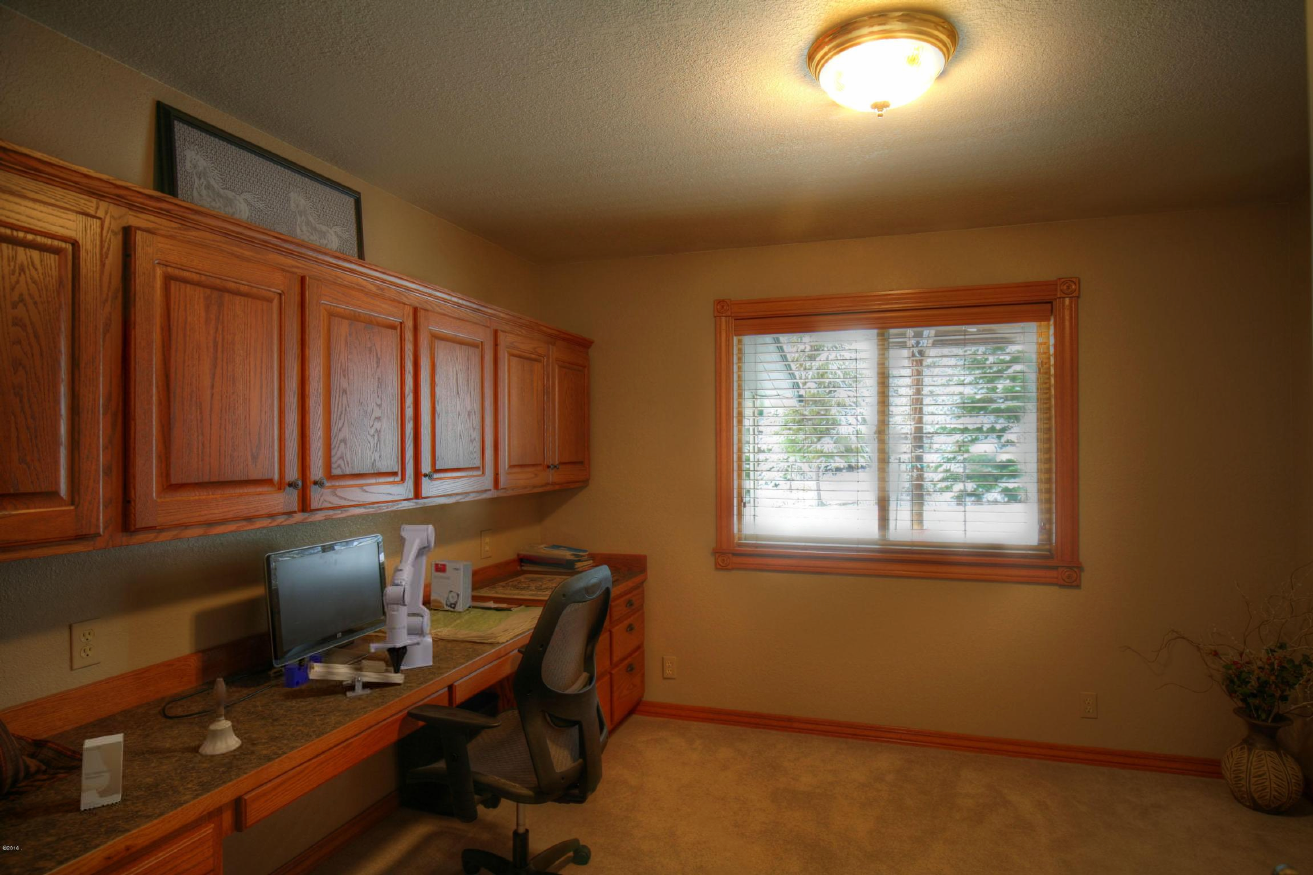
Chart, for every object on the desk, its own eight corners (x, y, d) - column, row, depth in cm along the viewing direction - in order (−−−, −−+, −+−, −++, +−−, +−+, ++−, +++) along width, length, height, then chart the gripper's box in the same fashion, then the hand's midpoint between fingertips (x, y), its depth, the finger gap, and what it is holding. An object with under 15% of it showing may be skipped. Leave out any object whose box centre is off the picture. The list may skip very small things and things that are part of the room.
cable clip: (308, 673, 211) (308, 653, 211) (321, 674, 210) (321, 654, 210) (280, 687, 199) (280, 666, 199) (294, 688, 198) (294, 667, 198)
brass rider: (380, 671, 203) (383, 661, 204) (383, 676, 199) (385, 665, 200) (359, 670, 200) (361, 660, 201) (361, 675, 196) (363, 664, 197)
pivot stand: (365, 681, 204) (365, 664, 204) (370, 692, 195) (370, 675, 195) (342, 684, 201) (342, 667, 201) (347, 696, 192) (347, 678, 192)
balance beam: (398, 675, 207) (400, 665, 207) (402, 682, 201) (405, 673, 201) (307, 670, 195) (309, 660, 195) (309, 678, 189) (311, 668, 189)
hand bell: (199, 759, 154) (200, 687, 154) (197, 745, 161) (198, 677, 161) (242, 749, 159) (243, 680, 159) (239, 736, 166) (239, 670, 166)
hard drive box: (429, 610, 289) (430, 562, 289) (440, 605, 296) (441, 559, 296) (461, 613, 284) (461, 564, 284) (472, 608, 291) (472, 561, 291)
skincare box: (79, 812, 132) (80, 747, 132) (81, 802, 136) (82, 739, 136) (122, 801, 136) (122, 739, 136) (123, 792, 140) (123, 731, 140)
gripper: (372, 633, 196) (372, 680, 196) (425, 626, 203) (424, 672, 203) (368, 627, 202) (368, 673, 202) (420, 620, 210) (420, 665, 210)
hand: (396, 672), depth 203 cm, fingers closed
